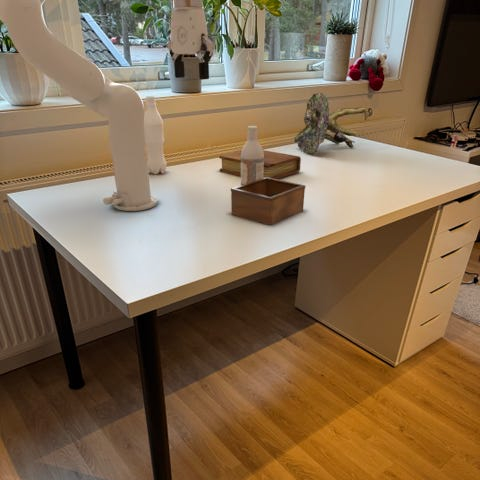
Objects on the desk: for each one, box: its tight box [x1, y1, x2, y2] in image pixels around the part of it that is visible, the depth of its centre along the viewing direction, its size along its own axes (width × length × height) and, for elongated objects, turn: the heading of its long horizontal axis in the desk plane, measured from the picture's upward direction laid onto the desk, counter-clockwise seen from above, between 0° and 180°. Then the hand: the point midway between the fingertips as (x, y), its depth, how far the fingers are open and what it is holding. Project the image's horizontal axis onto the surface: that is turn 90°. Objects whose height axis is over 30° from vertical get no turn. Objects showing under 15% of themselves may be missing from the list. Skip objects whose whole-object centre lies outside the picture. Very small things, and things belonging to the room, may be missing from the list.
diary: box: [218, 149, 302, 180], centre depth 164 cm, size 23×19×6 cm
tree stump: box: [294, 92, 367, 155], centre depth 194 cm, size 23×26×35 cm
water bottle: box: [144, 96, 168, 175], centre depth 158 cm, size 7×7×25 cm
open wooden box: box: [230, 177, 306, 226], centre depth 125 cm, size 16×14×7 cm
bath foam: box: [240, 125, 264, 185], centre depth 136 cm, size 7×7×20 cm
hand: (191, 78), depth 125 cm, fingers open, 9 cm apart
